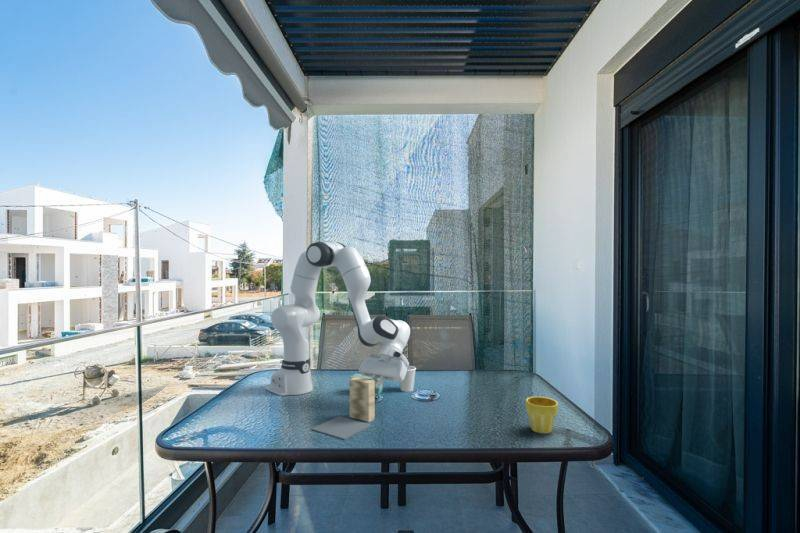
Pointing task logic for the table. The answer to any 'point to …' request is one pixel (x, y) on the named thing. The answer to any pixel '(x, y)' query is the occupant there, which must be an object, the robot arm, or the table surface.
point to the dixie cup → (408, 380)
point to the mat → (341, 427)
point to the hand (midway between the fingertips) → (374, 387)
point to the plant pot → (541, 413)
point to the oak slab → (362, 399)
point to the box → (377, 390)
